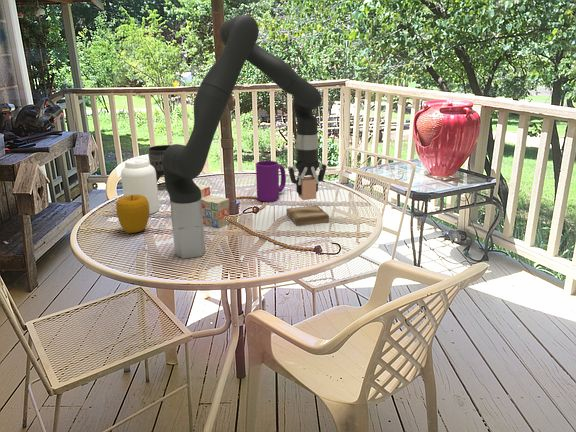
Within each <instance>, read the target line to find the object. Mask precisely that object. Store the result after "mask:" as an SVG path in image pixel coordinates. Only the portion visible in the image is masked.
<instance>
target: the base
mask: <svg viewBox="0 0 576 432" xmlns="http://www.w3.org/2000/svg"><path fill="white" fill-rule="evenodd" d="M286 216H287V217H288V218H289V219H290V221H292V222H293V223H294V225H295V226H296V227H299V226H307V225H316V224H326V223H330V221H329V220H330V216H329V214H328V213H327V212H326V211H324V210H323V208H321V207H320V206H319V205H308V206H300V207H299V206H298V207H297V206H296V207H291V208H289V207H288V208H286Z"/></svg>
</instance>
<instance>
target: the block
mask: <svg viewBox="0 0 576 432" xmlns="http://www.w3.org/2000/svg"><path fill="white" fill-rule="evenodd" d="M301 185H302V195H299V194H298V193H297V194H298V198H300V199H301V200H302V201H306V200H307V201H308V200H316V199H317V193H316V179H314V178H313V177H312V176H310V175H307V176H304V179H303V180H302V183H301Z"/></svg>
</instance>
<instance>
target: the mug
mask: <svg viewBox="0 0 576 432" xmlns="http://www.w3.org/2000/svg"><path fill="white" fill-rule="evenodd" d="M279 170H280V171H279ZM255 173H256V174H255V176H256V180H255V182H256V197H257V200H258V201H260V202H264V203H272V202H276V201H278V200H279V199H280V193H281V192H283V190H285V187H286V185H287V184H286V181H287V177H286V176H287V174H286V169H285V167H284V166H283V164H280V163H279V162H278V161H275V160H261V161H257V162H256V163H255ZM279 173H280V175H279Z"/></svg>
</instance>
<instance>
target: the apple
mask: <svg viewBox="0 0 576 432" xmlns="http://www.w3.org/2000/svg"><path fill="white" fill-rule="evenodd" d="M115 207H116V208H115V209H116V210H115V211H116V216H117V219H118V222H119V224H120V226H121V228H122V230H123V231H124V232H125V233H127V234H135V233H140V232H142V231H143V230H145V229H146V227H147V225H148V222H149V218H150V214H149V203H148V200H147V198H146V197H144V196H142V195H129V196H125V197H124V196H121V197H120V198H119V199H117V201H116V203H115Z"/></svg>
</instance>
